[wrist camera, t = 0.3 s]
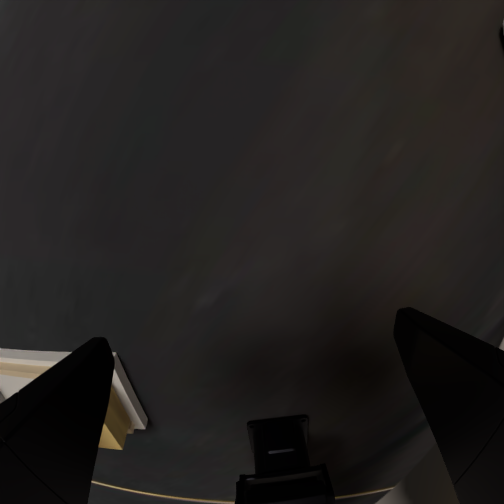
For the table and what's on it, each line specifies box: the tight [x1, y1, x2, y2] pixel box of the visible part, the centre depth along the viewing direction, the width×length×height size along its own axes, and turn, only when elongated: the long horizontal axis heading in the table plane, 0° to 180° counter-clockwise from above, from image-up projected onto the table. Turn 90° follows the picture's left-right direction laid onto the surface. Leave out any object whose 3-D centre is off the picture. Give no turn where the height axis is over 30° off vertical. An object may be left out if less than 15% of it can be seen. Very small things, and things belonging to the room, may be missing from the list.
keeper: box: [99, 386, 130, 450], centre depth 25 cm, size 6×6×4 cm
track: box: [0, 348, 148, 434], centre depth 26 cm, size 22×10×6 cm, turn 96°
